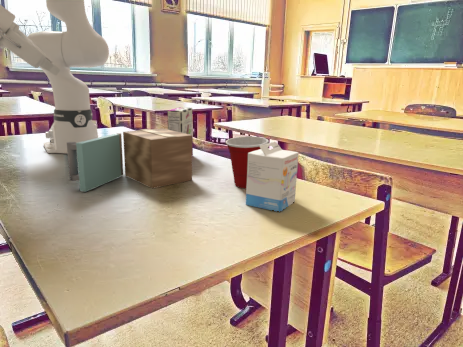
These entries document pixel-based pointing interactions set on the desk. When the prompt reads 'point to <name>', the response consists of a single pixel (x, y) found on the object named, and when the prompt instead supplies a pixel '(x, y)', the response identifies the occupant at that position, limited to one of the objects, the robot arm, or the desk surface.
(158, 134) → the carton
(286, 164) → the ink box
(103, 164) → the flap
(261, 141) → the plastic cup
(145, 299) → the desk surface
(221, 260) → the desk surface
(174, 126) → the candy bar box
